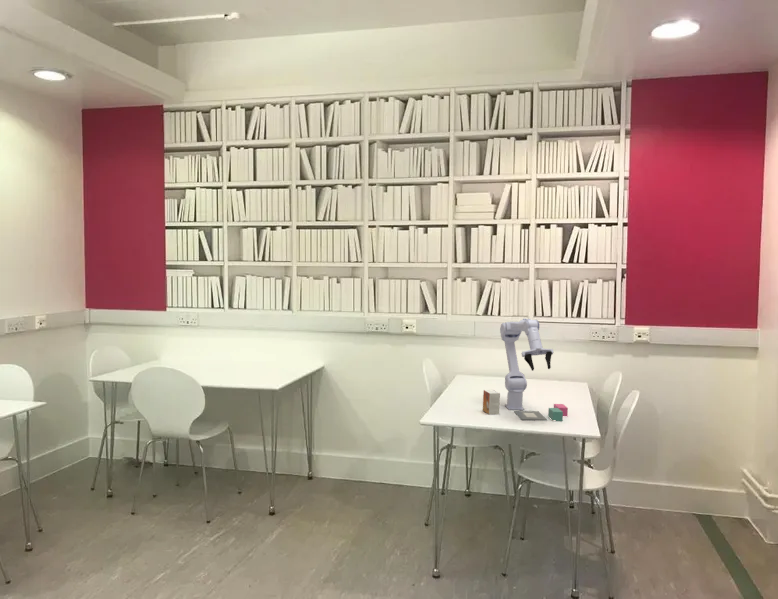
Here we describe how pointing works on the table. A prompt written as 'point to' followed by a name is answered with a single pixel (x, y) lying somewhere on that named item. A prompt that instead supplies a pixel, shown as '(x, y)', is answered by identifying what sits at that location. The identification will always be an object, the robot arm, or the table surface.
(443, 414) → the table surface
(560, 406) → the raspberry brick
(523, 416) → the baseplate
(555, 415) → the teal brick
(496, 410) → the small box
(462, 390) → the table surface
